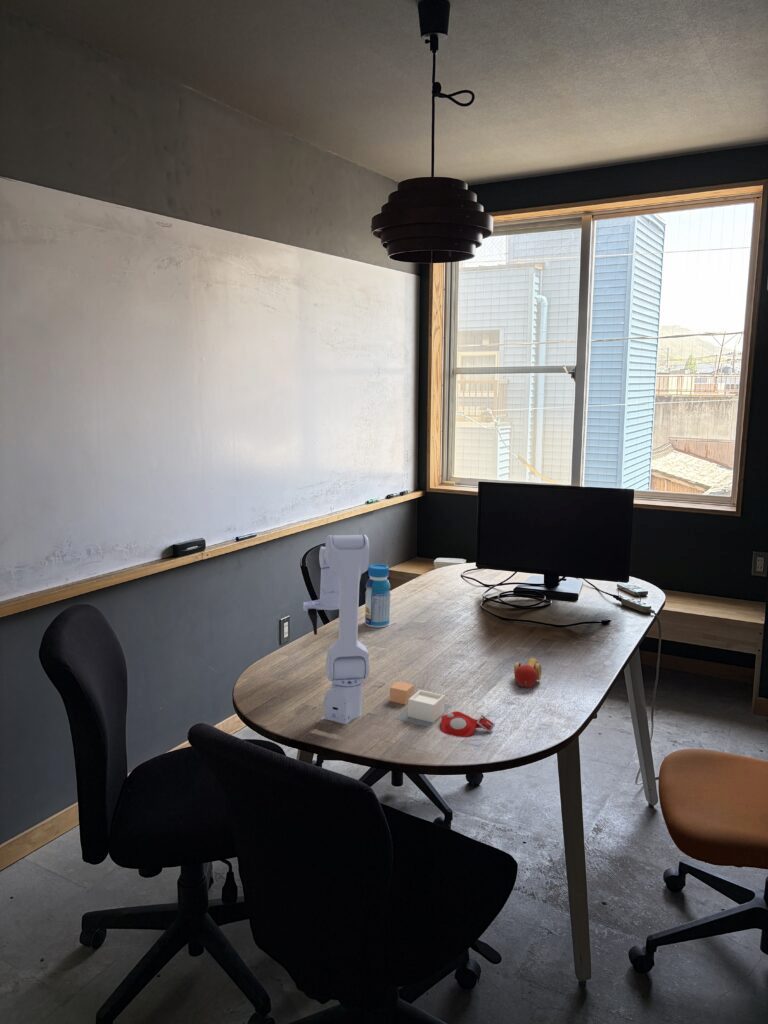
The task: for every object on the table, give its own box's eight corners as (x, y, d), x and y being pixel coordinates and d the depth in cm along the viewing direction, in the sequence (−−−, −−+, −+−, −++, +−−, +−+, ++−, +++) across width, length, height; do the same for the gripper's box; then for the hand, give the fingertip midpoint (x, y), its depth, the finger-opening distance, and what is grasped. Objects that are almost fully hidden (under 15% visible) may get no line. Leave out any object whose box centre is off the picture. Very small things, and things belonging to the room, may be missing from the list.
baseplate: (429, 730, 177) (429, 727, 177) (394, 721, 181) (394, 718, 181) (452, 708, 189) (452, 705, 189) (419, 701, 193) (419, 698, 193)
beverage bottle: (381, 630, 249) (382, 570, 245) (359, 625, 253) (360, 566, 250) (394, 623, 256) (396, 565, 252) (373, 619, 260) (374, 562, 257)
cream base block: (433, 722, 179) (433, 705, 178) (408, 716, 182) (408, 699, 181) (444, 712, 185) (444, 695, 184) (419, 706, 188) (420, 689, 187)
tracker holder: (451, 740, 170) (431, 713, 178) (452, 755, 172) (432, 727, 180) (498, 721, 174) (476, 696, 182) (498, 736, 176) (477, 710, 184)
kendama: (516, 670, 220) (507, 684, 203) (521, 649, 220) (513, 661, 203) (542, 678, 218) (535, 693, 201) (548, 657, 218) (541, 670, 200)
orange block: (405, 708, 189) (406, 691, 188) (389, 704, 191) (389, 687, 190) (413, 701, 193) (414, 684, 192) (397, 697, 195) (398, 681, 194)
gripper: (354, 581, 213) (352, 624, 217) (302, 582, 210) (301, 626, 214) (358, 592, 206) (356, 636, 211) (305, 593, 203) (303, 638, 208)
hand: (328, 632), depth 212 cm, fingers open, 7 cm apart
